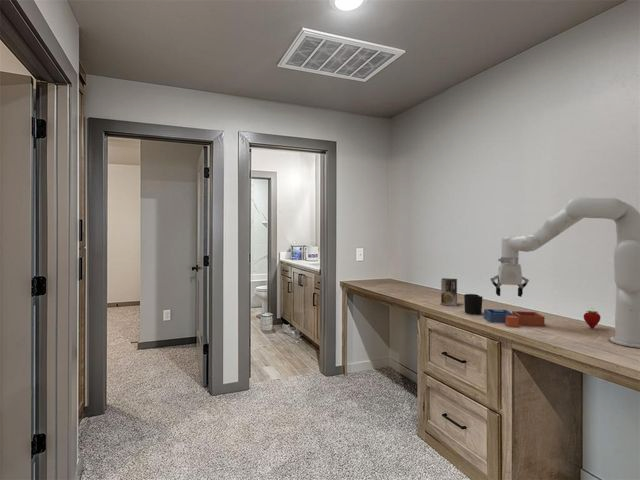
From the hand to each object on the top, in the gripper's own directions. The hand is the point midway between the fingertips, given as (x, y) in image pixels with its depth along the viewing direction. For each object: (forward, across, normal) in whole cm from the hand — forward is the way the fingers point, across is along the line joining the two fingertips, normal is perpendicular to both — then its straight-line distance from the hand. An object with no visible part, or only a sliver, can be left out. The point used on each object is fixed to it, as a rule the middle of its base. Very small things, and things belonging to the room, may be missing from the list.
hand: (509, 296), depth 183 cm
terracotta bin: (+14, +11, +6) cm, 18 cm away
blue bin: (+14, -2, +8) cm, 17 cm away
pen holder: (+14, -11, +24) cm, 30 cm away
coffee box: (+14, -21, +46) cm, 53 cm away
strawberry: (+14, +37, 0) cm, 39 cm away
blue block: (+14, -2, +8) cm, 16 cm away
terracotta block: (+14, +1, -2) cm, 14 cm away
